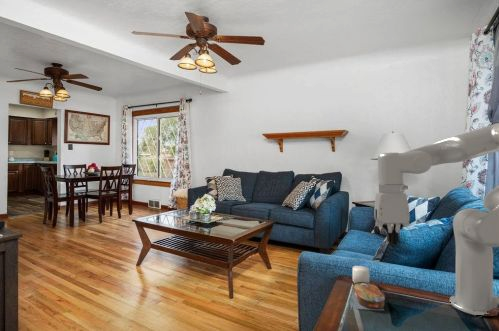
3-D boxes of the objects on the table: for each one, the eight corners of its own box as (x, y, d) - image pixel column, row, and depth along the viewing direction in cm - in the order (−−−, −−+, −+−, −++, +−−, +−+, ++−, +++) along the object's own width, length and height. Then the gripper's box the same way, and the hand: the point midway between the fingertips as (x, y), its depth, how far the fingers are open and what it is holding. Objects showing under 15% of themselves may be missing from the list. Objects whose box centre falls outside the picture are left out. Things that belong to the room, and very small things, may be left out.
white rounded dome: (366, 281, 114) (366, 266, 114) (371, 287, 108) (371, 271, 108) (350, 280, 115) (350, 265, 114) (354, 287, 109) (354, 271, 109)
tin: (388, 302, 91) (360, 298, 92) (387, 312, 91) (359, 308, 92) (375, 282, 105) (351, 279, 107) (374, 291, 106) (350, 288, 107)
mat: (370, 291, 105) (370, 290, 105) (384, 310, 91) (384, 309, 91) (347, 290, 106) (347, 289, 106) (358, 309, 92) (358, 308, 92)
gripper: (409, 187, 100) (411, 240, 100) (364, 189, 102) (366, 241, 102) (419, 189, 93) (421, 246, 93) (371, 191, 94) (373, 247, 94)
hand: (392, 243), depth 97 cm, fingers closed
